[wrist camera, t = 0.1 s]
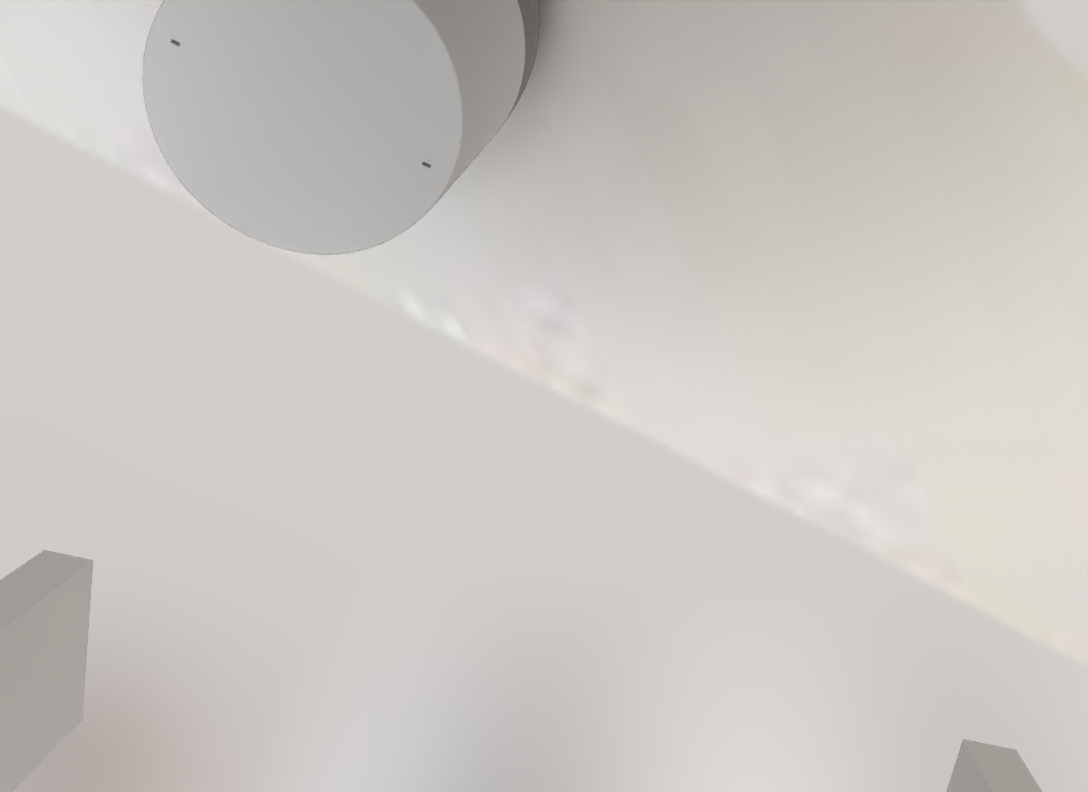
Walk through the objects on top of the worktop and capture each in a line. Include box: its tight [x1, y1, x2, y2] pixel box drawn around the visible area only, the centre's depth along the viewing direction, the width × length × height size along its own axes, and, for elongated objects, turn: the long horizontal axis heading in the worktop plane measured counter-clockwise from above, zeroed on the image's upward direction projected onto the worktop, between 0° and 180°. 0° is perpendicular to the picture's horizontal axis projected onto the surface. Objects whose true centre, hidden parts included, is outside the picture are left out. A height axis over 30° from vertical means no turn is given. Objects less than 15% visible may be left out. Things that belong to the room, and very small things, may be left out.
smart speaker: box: [143, 0, 539, 255], centre depth 31 cm, size 10×9×14 cm
